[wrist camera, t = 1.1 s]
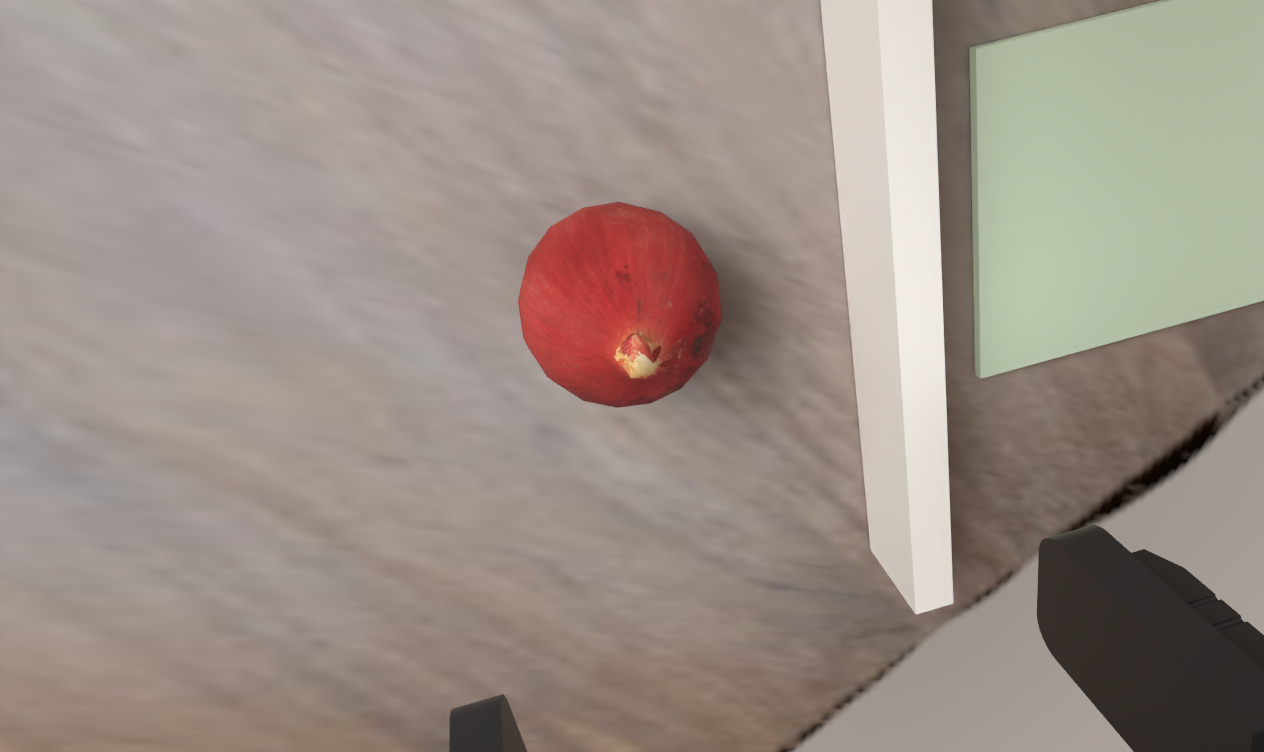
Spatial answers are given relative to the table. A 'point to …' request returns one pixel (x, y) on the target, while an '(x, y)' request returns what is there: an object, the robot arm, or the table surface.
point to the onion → (619, 304)
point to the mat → (1116, 177)
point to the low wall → (894, 280)
